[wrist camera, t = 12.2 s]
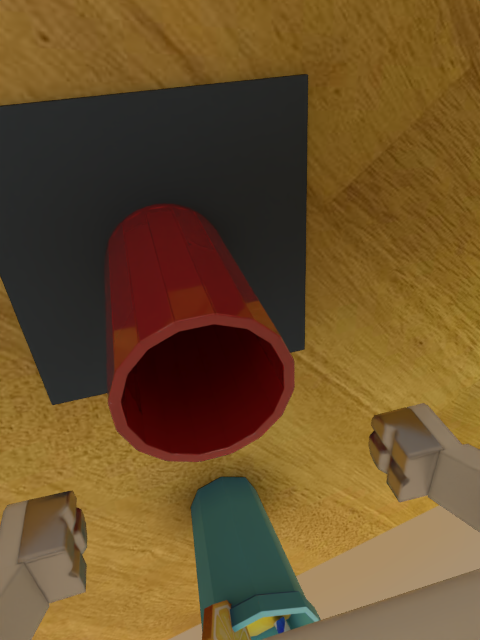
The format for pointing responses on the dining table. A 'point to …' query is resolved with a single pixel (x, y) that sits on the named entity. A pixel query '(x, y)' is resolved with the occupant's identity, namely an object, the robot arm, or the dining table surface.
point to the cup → (243, 567)
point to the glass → (187, 340)
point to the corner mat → (147, 204)
